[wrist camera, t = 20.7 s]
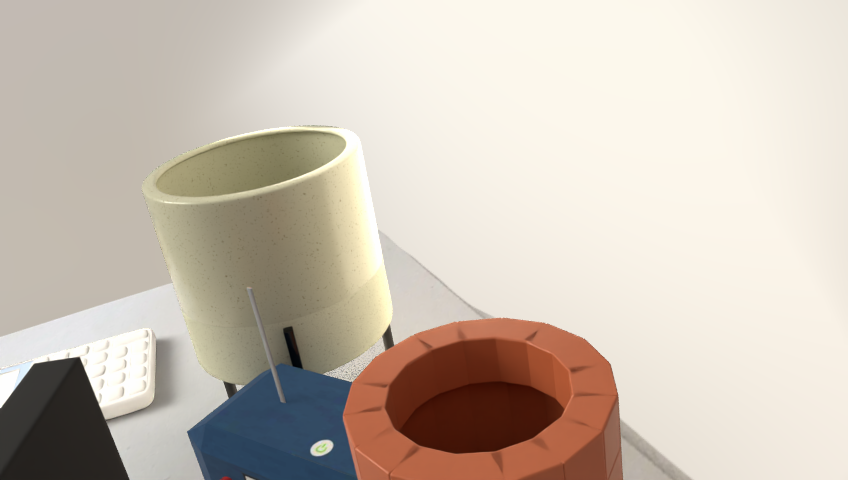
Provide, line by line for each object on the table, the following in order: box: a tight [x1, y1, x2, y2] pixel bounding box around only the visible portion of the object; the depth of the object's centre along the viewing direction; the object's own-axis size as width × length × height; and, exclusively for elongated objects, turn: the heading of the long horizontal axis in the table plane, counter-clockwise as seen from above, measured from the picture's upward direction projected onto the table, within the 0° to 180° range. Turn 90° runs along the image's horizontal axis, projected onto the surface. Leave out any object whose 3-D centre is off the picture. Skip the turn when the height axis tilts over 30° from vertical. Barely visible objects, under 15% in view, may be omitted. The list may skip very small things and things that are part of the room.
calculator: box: [0, 328, 156, 420], centre depth 71 cm, size 13×20×2 cm, turn 108°
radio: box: [187, 287, 358, 480], centre depth 42 cm, size 21×9×20 cm, turn 56°
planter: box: [142, 125, 394, 398], centre depth 57 cm, size 15×16×23 cm
